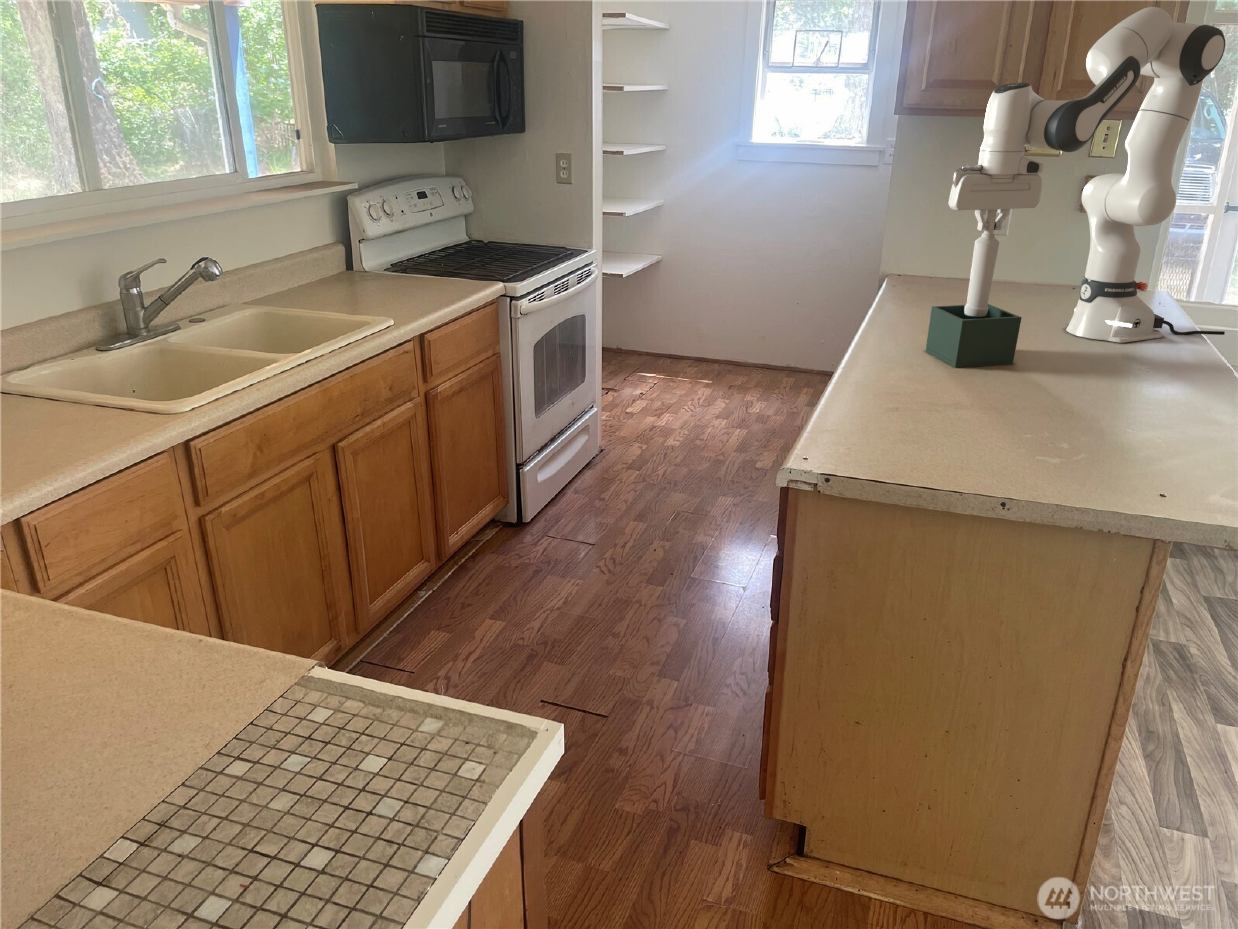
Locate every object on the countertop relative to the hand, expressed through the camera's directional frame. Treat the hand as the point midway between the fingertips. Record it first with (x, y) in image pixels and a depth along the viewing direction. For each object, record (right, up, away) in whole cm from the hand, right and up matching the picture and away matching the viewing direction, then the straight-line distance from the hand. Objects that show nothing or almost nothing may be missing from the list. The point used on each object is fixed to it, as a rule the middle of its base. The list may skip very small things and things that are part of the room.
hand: (989, 229), depth 194 cm
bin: (0, -27, +12) cm, 30 cm away
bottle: (0, -18, +8) cm, 19 cm away
